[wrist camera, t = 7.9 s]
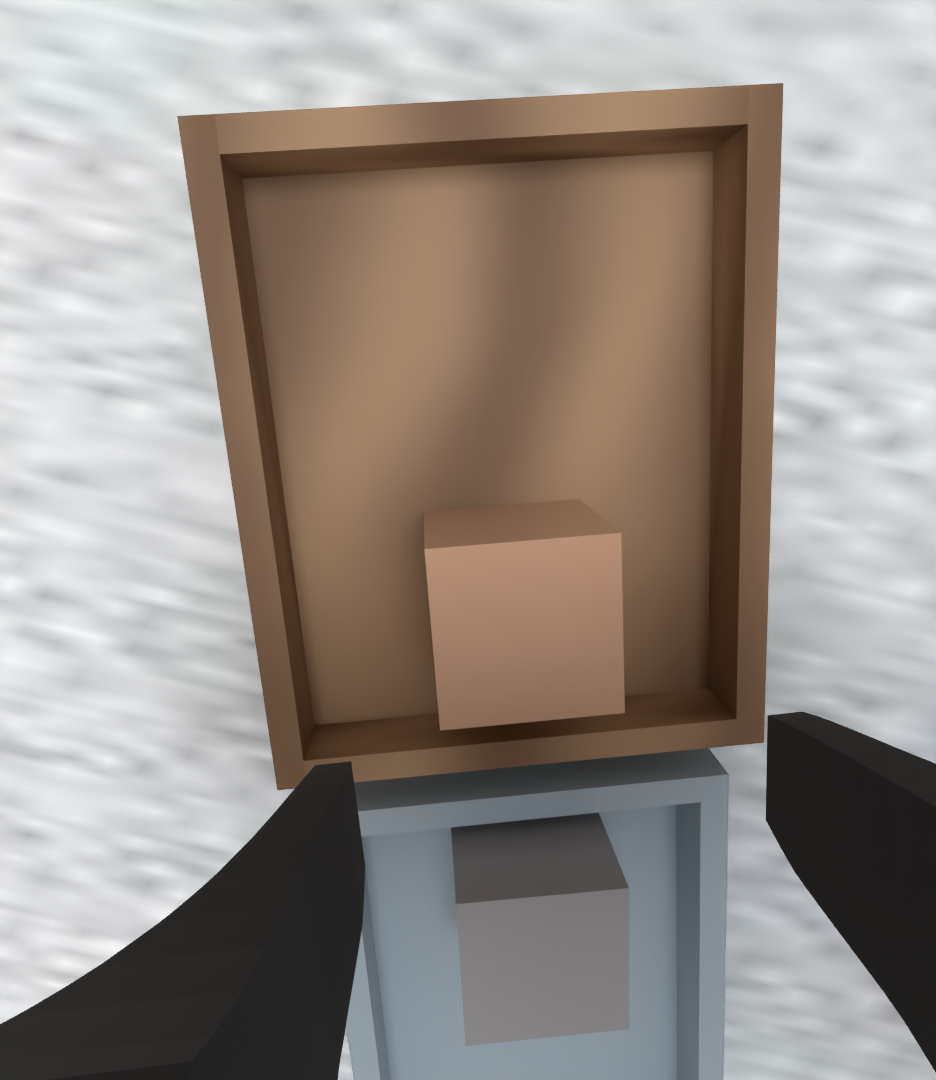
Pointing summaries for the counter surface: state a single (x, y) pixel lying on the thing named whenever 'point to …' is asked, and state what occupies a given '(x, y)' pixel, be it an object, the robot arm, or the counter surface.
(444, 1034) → the slate tray
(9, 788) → the counter surface
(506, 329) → the walnut bin
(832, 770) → the robot arm
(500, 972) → the grey cube
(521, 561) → the russet cube
